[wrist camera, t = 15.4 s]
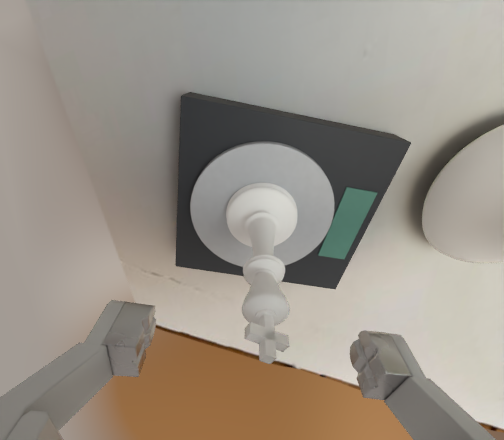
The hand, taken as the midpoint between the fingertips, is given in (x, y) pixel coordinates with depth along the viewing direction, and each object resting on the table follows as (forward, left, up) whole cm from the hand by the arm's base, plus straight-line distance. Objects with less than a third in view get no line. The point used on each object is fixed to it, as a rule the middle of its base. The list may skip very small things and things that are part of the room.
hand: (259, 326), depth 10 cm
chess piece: (0, 0, -9) cm, 9 cm away
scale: (+1, 0, -12) cm, 12 cm away
